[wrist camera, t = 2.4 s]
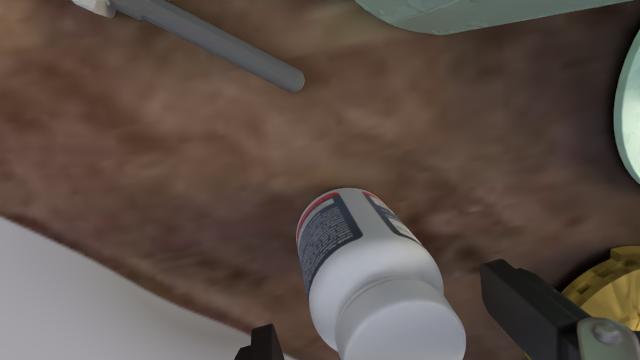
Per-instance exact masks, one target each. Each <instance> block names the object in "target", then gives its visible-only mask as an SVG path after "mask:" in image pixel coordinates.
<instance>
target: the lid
mask: <svg viewBox="0 0 640 360" xmlns="http://www.w3.org/2000/svg"><path fill="white" fill-rule="evenodd" d="M614 133H615V140H616V144H617V148H618V151H619V155H620V157H621V159H622V161H623V163H624V166H625V168H626V169H627V170H628V172H629V173H630V175H631V176H632V177H633V178H634V179H635V180H636V181H637V182H638V183H639V184H640V30H639V32H638V33H637V35H636V37H635V39H634V41H633V43H632V45H631V47H630V50H629V52H628V54H627V56H626V59H625V62H624V65H623V68H622V71H621V74H620V77H619V81H618V86H617V90H616V95H615V104H614Z"/></svg>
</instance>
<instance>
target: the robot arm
mask: <svg viewBox="0 0 640 360" xmlns="http://www.w3.org/2000/svg"><path fill="white" fill-rule="evenodd" d="M480 275H481V286H482V297H483V302H484V305H485V307H486V309H487V311H488V312H489V314H490V315H491V316H492V317H493V318H494V319H495V321H496V322H497V323H498V324H499V325H500V326H501V327H502V328H503V329H504V330H505V331H506V332H507V334H508V335H509V336H510V337H511V338H512V339H513V340H514V341H515V342H516V343H517V344H518V345H519V347H520V348H521V349H522V350H523V351H524V352H525V353H526V354H527V355H528V356H529V357H530V358H531V360H640V331H632V330H631V329H629V328H628V327H627V326H625V325H623V324H622V323H619V322H617V321H615V320H612V319H608V318H603V317H592V316H591V315H589V314H588V313H587V312H585V311H584V310H583V309H581V308H580V307H579V306H577V305H576V304H575V303H573V302H572V301H571V300H569V299H568V298H567V297H565V296H564V295H563V294H561V293H560V292H557V291H556V289H555V288H553V287H552V286H551V285H549V284H547V282H545V281H544V280H543V279H541V278H540V277H539V276H537V275H536V274H534V273H532V272H529V271H527V270H524V269H522V268H518V269H515V268H513V267H512V266H511V265H510V264H508V263H507V262H506V261H504V260H503V259H498V260H494V261H491V262H488V263H484V264H481V266H480ZM234 360H284V356H283V353H282V350H281V347H280V344H279V341H278V338H277V334H276V331H275V328H274V326H273V324H268V325H265V326H261V327H258V328H254V329H252V335H251V345H250V346H246V347H243V348H240V350H239V351H238V353H237V355H236V357H235V359H234Z"/></svg>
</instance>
